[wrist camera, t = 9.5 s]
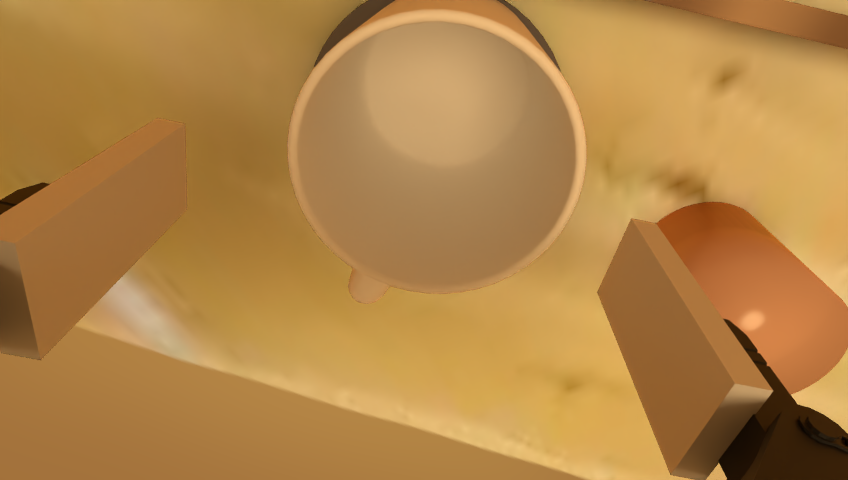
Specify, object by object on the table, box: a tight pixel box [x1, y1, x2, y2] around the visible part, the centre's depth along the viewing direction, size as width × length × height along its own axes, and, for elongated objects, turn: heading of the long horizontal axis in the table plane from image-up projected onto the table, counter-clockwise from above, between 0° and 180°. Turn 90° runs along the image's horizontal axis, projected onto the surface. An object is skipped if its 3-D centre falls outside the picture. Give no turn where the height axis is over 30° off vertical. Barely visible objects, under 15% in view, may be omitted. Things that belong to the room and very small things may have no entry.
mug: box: [287, 0, 587, 304], centre depth 20 cm, size 12×8×10 cm
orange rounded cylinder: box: [657, 202, 848, 395], centre depth 25 cm, size 6×6×7 cm
